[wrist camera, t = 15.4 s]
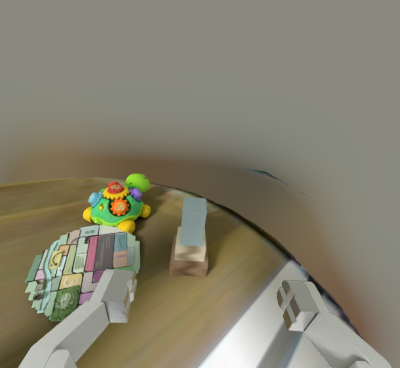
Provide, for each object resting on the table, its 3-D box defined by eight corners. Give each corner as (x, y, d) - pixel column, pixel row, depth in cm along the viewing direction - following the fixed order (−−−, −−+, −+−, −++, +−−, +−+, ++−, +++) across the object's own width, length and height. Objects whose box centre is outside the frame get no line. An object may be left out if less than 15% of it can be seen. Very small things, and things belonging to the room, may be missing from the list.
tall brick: (179, 244, 43) (182, 210, 38) (181, 229, 48) (184, 196, 43) (201, 246, 43) (206, 212, 39) (201, 231, 48) (205, 198, 43)
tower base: (169, 274, 45) (170, 251, 41) (173, 245, 53) (174, 223, 49) (206, 276, 46) (210, 253, 42) (205, 247, 54) (208, 226, 50)
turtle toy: (163, 202, 71) (164, 174, 65) (123, 245, 51) (119, 211, 46) (125, 191, 75) (122, 164, 69) (74, 227, 55) (65, 194, 50)
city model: (23, 367, 31) (10, 355, 27) (17, 257, 44) (7, 241, 41) (160, 284, 46) (162, 270, 42) (123, 221, 59) (123, 207, 56)
